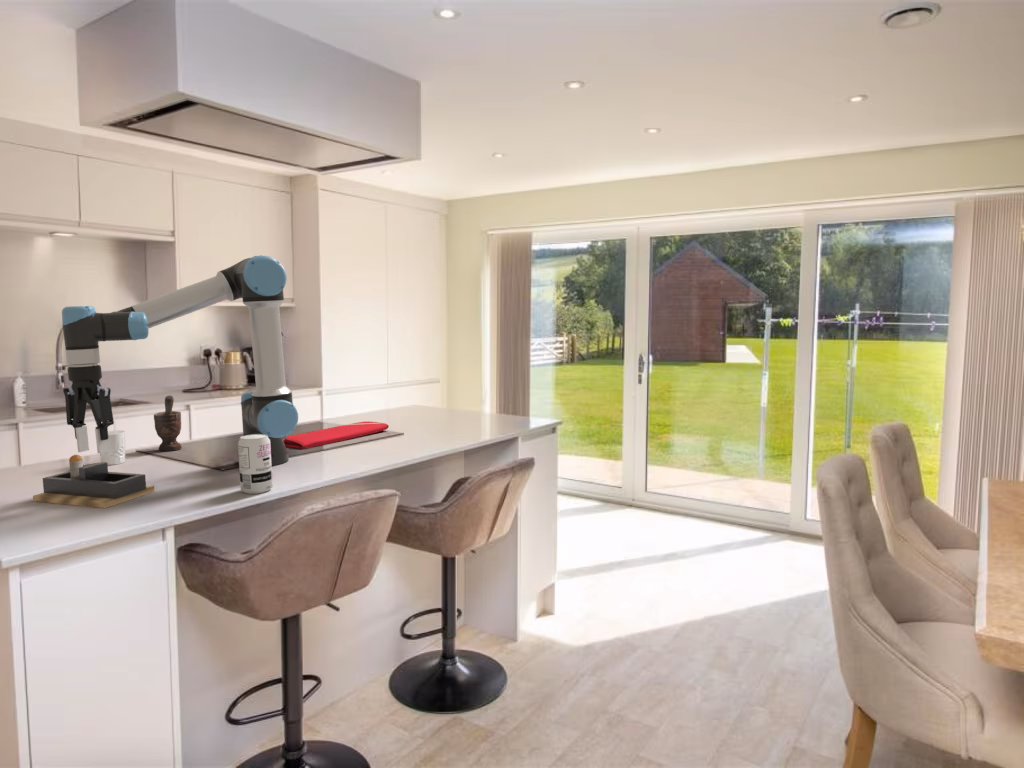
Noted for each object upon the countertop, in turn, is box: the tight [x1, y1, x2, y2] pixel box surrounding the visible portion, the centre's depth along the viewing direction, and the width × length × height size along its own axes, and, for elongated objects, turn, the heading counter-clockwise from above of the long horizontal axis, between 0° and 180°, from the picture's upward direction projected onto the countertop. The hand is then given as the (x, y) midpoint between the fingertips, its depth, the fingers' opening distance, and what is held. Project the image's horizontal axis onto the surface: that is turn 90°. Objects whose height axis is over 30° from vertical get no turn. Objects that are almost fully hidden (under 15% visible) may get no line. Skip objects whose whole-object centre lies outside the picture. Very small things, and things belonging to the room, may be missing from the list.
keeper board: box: [32, 454, 156, 509], centre depth 186 cm, size 24×16×11 cm, turn 73°
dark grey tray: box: [42, 461, 147, 499], centre depth 185 cm, size 10×24×7 cm, turn 73°
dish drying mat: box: [283, 421, 389, 450], centre depth 264 cm, size 16×41×4 cm, turn 143°
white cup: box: [99, 430, 126, 466], centre depth 225 cm, size 8×8×10 cm
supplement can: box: [237, 434, 274, 495], centre depth 189 cm, size 8×8×15 cm
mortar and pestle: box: [153, 394, 182, 452], centre depth 244 cm, size 12×9×20 cm
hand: (93, 451), depth 185 cm, fingers open, 6 cm apart
